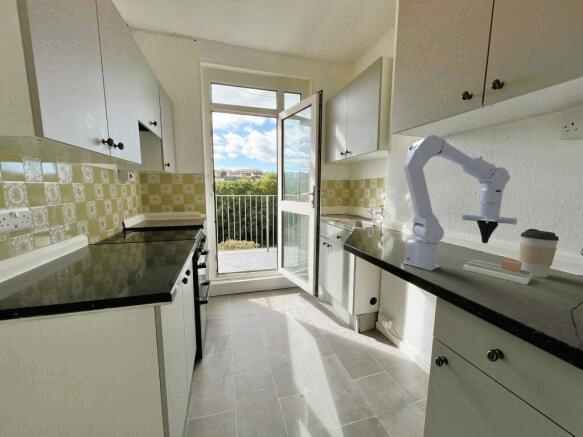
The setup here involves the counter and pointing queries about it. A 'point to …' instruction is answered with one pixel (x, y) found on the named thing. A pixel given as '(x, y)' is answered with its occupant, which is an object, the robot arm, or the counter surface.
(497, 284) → the counter surface
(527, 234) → the coffee cup
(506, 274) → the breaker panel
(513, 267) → the switch
